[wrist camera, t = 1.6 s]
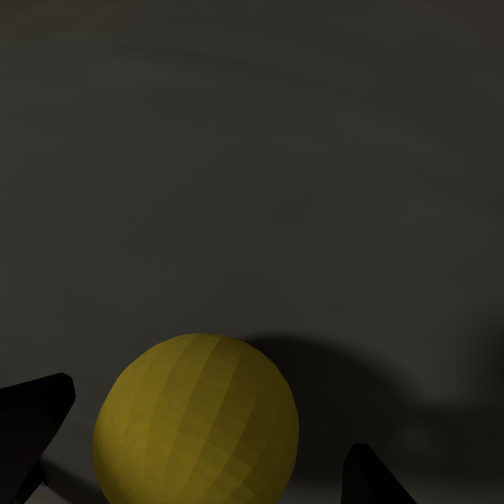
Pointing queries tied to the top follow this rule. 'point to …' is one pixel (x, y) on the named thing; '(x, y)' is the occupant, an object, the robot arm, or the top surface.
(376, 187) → the top surface
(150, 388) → the lemon
